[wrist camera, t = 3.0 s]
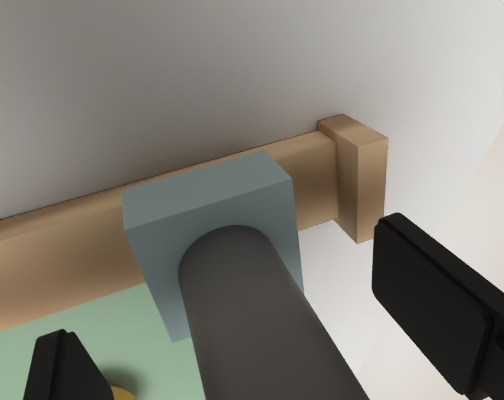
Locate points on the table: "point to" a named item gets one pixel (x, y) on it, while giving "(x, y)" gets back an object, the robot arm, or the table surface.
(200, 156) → the table surface
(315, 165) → the rail
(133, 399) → the ball
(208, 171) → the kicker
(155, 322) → the felt mat
